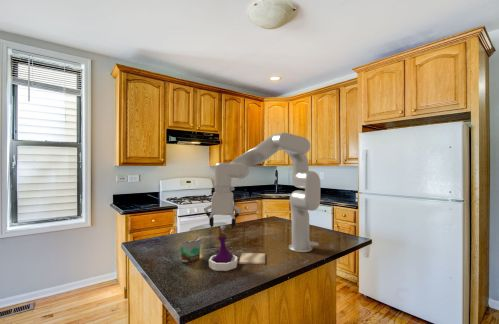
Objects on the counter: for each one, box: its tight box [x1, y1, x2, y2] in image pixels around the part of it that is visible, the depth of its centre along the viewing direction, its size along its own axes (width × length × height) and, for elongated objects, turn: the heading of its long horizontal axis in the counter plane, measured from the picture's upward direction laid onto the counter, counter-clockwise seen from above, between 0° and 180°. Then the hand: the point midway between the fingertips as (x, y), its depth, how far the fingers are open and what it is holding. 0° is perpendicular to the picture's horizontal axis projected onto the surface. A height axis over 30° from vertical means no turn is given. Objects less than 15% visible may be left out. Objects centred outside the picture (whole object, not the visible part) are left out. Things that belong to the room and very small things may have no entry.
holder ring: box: [208, 254, 238, 272], centre depth 117 cm, size 12×12×3 cm
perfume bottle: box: [213, 225, 234, 263], centre depth 117 cm, size 8×8×18 cm
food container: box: [179, 236, 203, 265], centre depth 122 cm, size 12×6×10 cm, turn 148°
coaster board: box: [238, 252, 266, 265], centre depth 124 cm, size 12×12×1 cm
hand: (222, 227), depth 117 cm, fingers open, 9 cm apart
